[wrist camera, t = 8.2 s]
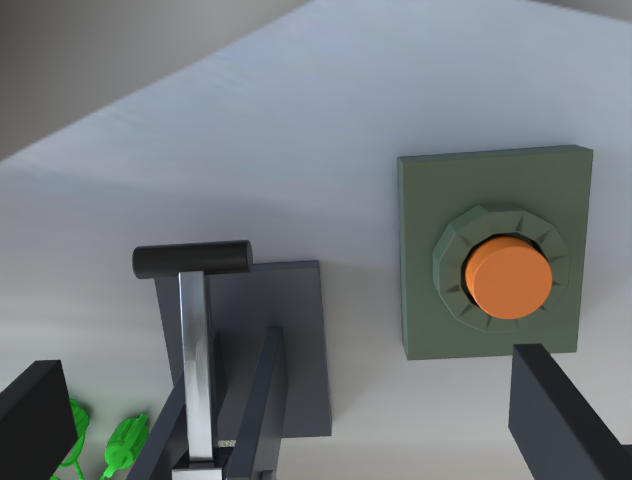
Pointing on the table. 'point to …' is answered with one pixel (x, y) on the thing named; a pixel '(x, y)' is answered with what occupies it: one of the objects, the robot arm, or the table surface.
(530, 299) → the stop button
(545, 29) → the table surface
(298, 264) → the switch bracket
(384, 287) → the table surface
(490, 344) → the stop box
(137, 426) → the chandelier
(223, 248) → the switch lever
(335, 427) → the table surface
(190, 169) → the table surface
